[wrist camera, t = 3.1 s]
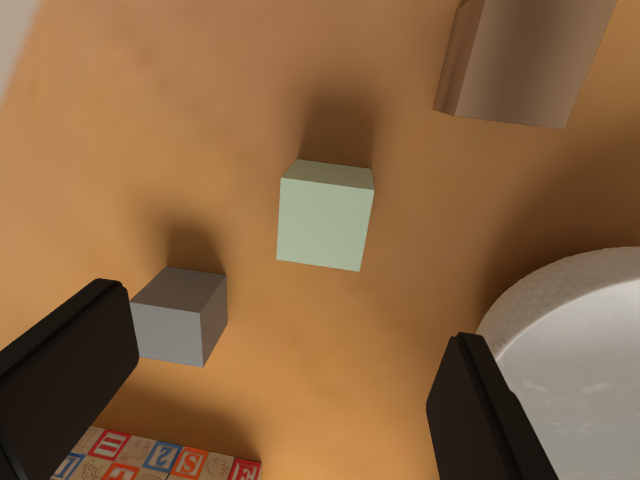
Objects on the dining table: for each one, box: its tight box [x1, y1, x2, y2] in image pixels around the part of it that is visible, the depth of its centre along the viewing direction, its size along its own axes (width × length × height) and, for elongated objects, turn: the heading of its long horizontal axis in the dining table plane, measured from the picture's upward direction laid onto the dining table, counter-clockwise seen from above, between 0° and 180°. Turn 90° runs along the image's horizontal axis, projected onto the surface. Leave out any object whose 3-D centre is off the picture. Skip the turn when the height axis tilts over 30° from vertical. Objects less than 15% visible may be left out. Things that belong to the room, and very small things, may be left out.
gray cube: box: [129, 266, 227, 367], centre depth 26 cm, size 5×5×5 cm
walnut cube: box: [433, 0, 617, 130], centre depth 16 cm, size 5×5×5 cm
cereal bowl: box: [475, 246, 640, 480], centre depth 22 cm, size 17×17×7 cm
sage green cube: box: [276, 159, 375, 272], centre depth 21 cm, size 5×5×5 cm
